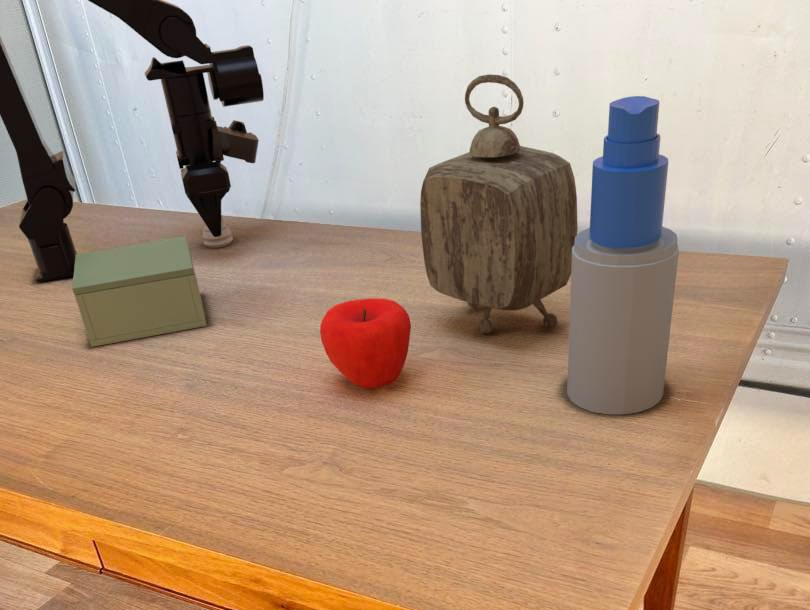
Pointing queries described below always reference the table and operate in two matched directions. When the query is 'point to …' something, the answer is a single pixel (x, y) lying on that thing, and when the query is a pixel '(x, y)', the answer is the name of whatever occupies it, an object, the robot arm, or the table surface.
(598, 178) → the spray bottle
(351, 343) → the apple
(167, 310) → the chest
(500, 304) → the tabletop clock
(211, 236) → the rook chess piece
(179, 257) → the chest lid
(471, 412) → the table surface
